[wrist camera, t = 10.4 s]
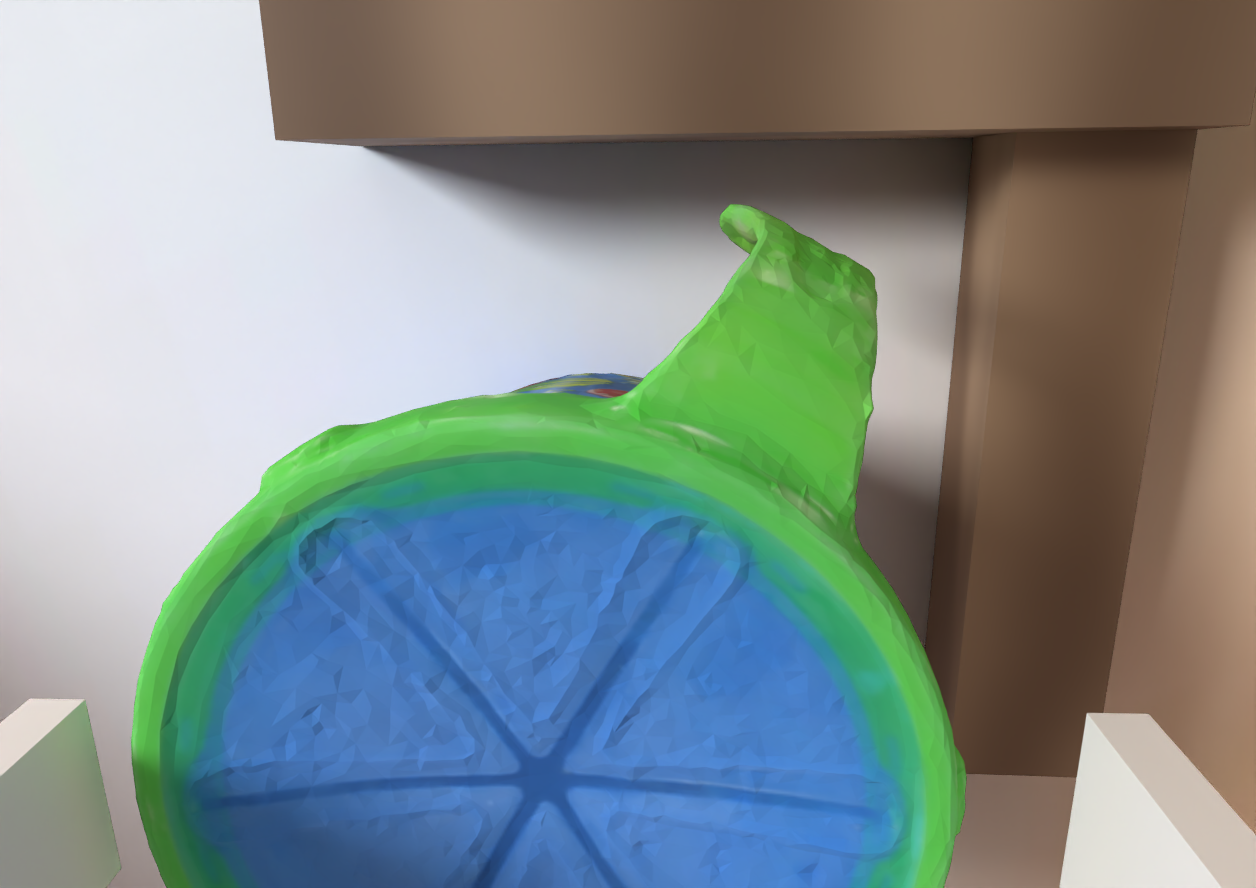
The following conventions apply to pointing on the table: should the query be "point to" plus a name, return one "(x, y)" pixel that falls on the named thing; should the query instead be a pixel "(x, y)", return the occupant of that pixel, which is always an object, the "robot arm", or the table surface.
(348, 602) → the snack cup
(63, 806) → the robot arm
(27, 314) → the table surface
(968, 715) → the bracket
